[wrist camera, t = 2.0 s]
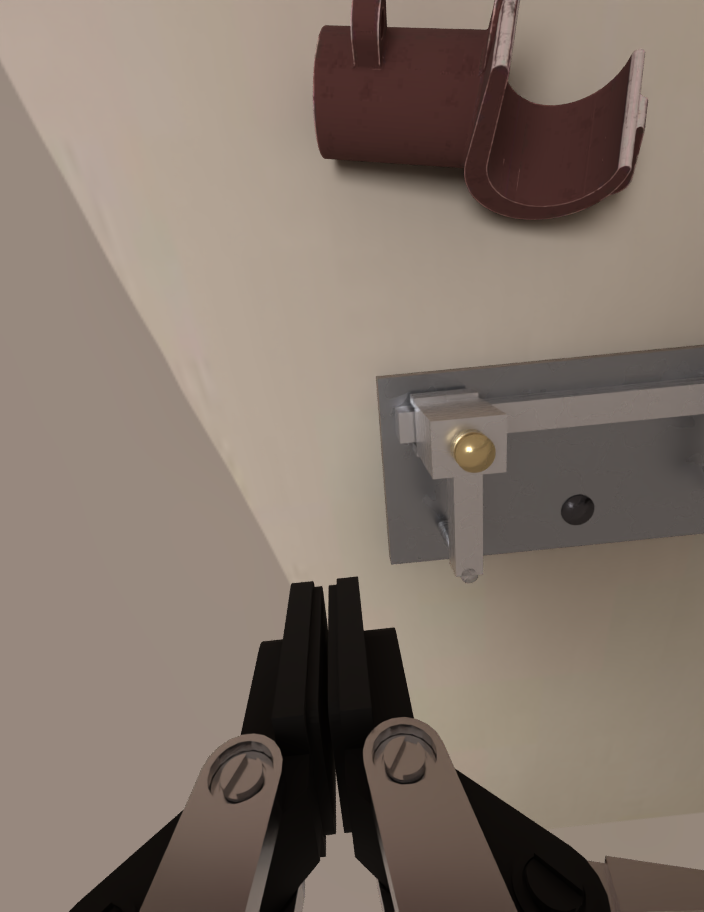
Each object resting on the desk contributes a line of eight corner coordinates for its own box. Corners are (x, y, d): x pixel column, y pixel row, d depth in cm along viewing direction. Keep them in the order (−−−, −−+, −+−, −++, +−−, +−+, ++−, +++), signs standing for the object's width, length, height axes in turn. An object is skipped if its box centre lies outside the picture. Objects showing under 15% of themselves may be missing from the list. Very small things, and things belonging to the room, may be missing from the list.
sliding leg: (470, 387, 30) (516, 413, 22) (471, 529, 33) (512, 594, 26) (409, 393, 30) (435, 421, 22) (417, 535, 33) (441, 601, 25)
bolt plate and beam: (807, 334, 31) (964, 342, 24) (770, 518, 36) (892, 576, 28) (376, 376, 31) (389, 397, 23) (389, 556, 35) (404, 625, 28)
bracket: (615, 234, 27) (739, 73, 17) (331, 210, 29) (293, 57, 19) (627, 137, 27) (754, -74, 17) (347, 121, 29) (318, -74, 19)
